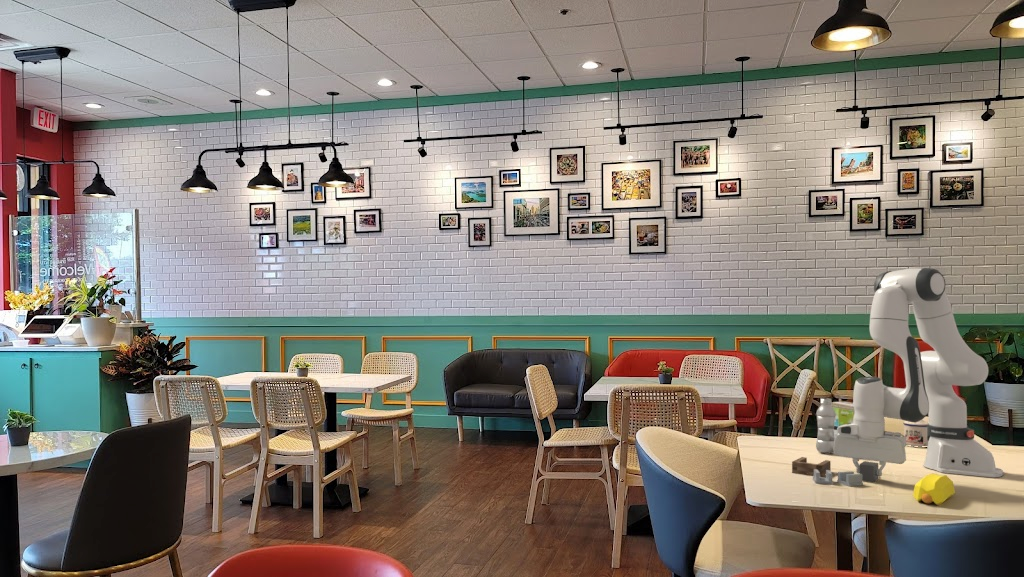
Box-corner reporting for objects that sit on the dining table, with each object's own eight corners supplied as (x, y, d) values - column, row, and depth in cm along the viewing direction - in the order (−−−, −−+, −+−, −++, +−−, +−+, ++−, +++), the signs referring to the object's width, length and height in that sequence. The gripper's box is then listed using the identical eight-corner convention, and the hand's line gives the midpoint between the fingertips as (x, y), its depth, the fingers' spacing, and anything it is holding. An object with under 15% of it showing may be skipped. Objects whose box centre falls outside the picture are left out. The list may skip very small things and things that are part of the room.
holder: (830, 471, 237) (830, 460, 237) (821, 476, 230) (821, 465, 230) (802, 467, 243) (802, 457, 243) (792, 472, 235) (792, 461, 235)
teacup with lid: (899, 445, 286) (899, 415, 286) (908, 443, 292) (907, 413, 293) (933, 450, 277) (933, 419, 278) (941, 447, 284) (941, 417, 284)
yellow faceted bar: (957, 496, 207) (927, 492, 212) (957, 473, 207) (927, 468, 212) (941, 509, 194) (909, 503, 199) (941, 483, 194) (909, 478, 199)
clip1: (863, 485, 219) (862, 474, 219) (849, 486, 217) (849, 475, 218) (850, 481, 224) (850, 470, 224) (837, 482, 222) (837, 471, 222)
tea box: (827, 437, 304) (827, 401, 304) (844, 436, 308) (844, 400, 308) (857, 443, 290) (856, 406, 290) (875, 442, 294) (875, 405, 294)
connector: (881, 476, 231) (881, 460, 231) (873, 482, 223) (873, 465, 223) (867, 474, 233) (867, 459, 233) (859, 480, 225) (859, 464, 225)
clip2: (830, 480, 224) (830, 470, 225) (833, 484, 220) (833, 473, 220) (812, 479, 226) (812, 469, 226) (815, 483, 221) (815, 472, 221)
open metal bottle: (818, 450, 273) (818, 397, 274) (837, 453, 269) (837, 398, 270) (814, 453, 268) (813, 398, 269) (833, 455, 264) (833, 400, 265)
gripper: (908, 432, 223) (908, 477, 222) (837, 424, 236) (837, 468, 235) (903, 434, 218) (904, 481, 217) (831, 427, 231) (832, 471, 230)
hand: (869, 474), depth 226 cm, fingers closed on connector, 4 cm apart
